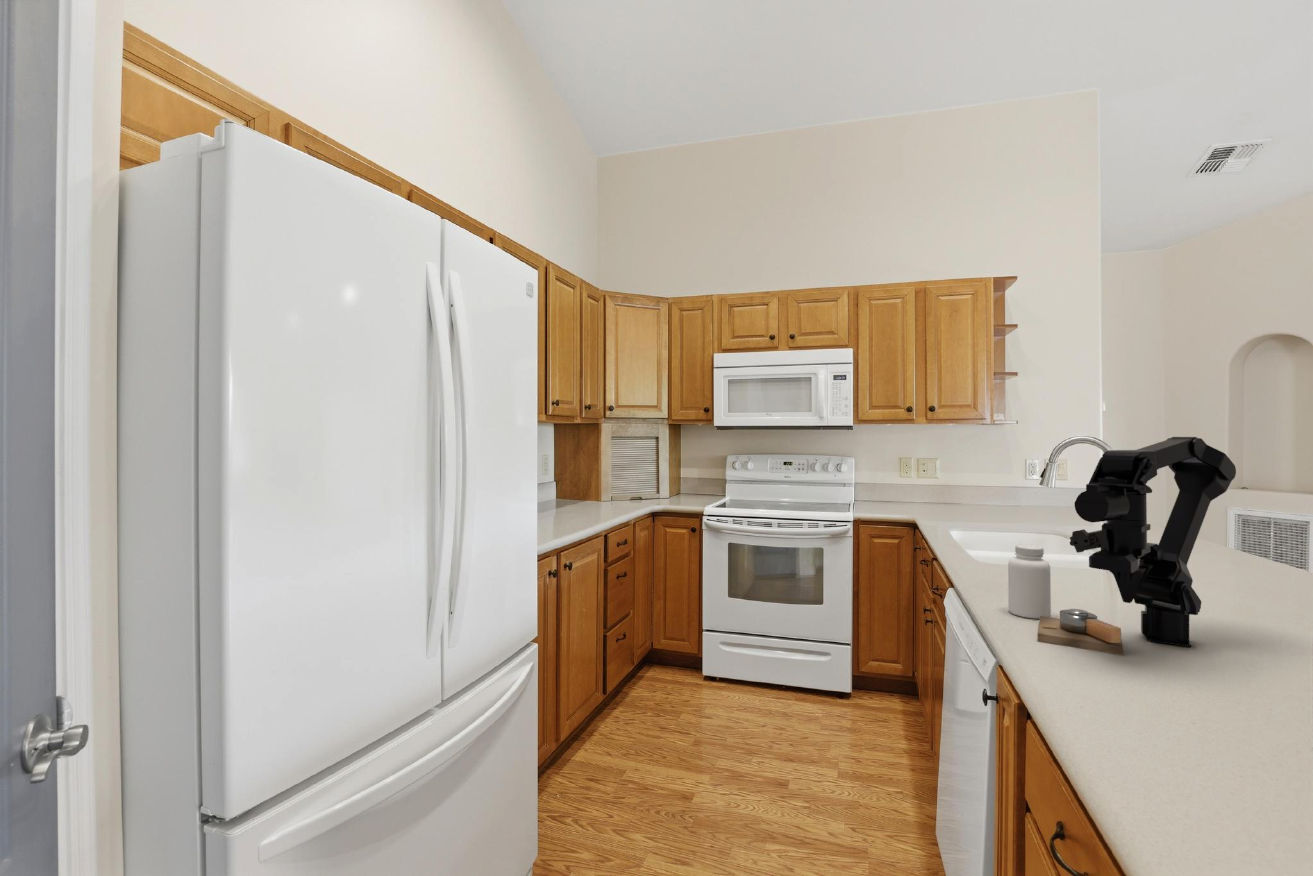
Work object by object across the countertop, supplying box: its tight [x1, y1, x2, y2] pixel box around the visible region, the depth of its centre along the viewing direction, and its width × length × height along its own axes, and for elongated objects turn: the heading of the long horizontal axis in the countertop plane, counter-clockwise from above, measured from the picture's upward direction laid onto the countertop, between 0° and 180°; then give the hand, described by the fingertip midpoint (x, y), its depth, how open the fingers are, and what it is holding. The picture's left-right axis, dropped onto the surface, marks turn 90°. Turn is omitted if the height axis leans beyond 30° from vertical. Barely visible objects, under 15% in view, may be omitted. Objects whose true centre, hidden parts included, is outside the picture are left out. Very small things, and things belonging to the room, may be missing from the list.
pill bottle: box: [1007, 544, 1052, 620], centre depth 131 cm, size 8×8×15 cm
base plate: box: [1037, 616, 1124, 656], centre depth 116 cm, size 13×13×2 cm
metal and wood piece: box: [1059, 608, 1122, 643], centre depth 113 cm, size 12×6×3 cm, turn 5°
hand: (1127, 602), depth 109 cm, fingers closed
